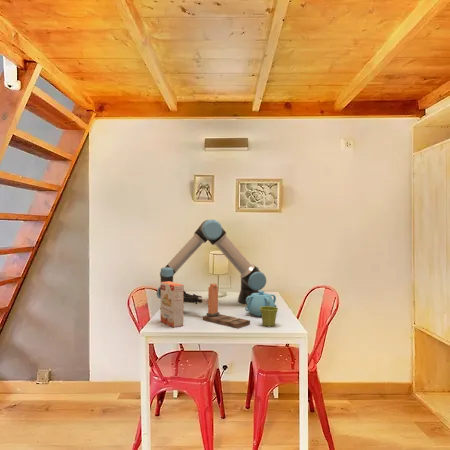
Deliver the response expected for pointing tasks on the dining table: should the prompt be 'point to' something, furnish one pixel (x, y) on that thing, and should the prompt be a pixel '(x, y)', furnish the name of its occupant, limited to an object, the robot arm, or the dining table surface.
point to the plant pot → (268, 315)
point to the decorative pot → (259, 302)
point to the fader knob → (213, 300)
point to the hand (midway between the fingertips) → (207, 301)
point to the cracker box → (172, 303)
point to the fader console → (227, 320)
